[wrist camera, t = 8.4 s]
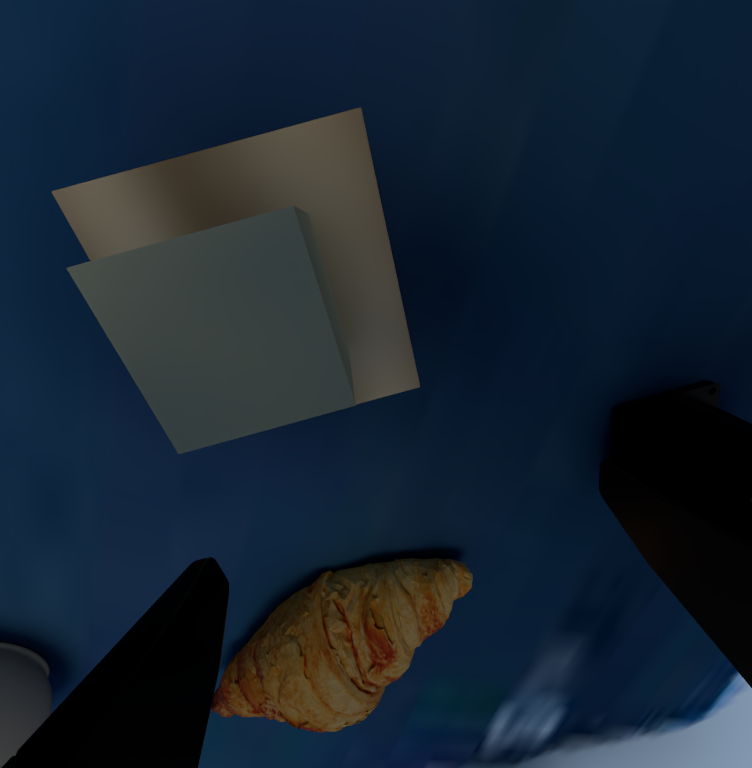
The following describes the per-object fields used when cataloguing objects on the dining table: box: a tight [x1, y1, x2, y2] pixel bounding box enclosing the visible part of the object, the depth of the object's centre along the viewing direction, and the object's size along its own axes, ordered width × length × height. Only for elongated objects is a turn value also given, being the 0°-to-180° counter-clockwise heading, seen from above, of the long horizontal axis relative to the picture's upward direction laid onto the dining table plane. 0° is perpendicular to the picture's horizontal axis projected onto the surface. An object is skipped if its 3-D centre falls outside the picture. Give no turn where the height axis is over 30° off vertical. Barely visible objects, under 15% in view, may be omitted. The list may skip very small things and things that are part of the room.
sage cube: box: [67, 205, 356, 454], centre depth 11 cm, size 5×5×5 cm
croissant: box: [211, 558, 473, 732], centre depth 24 cm, size 21×10×8 cm, turn 122°
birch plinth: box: [51, 107, 420, 404], centre depth 15 cm, size 10×10×4 cm
